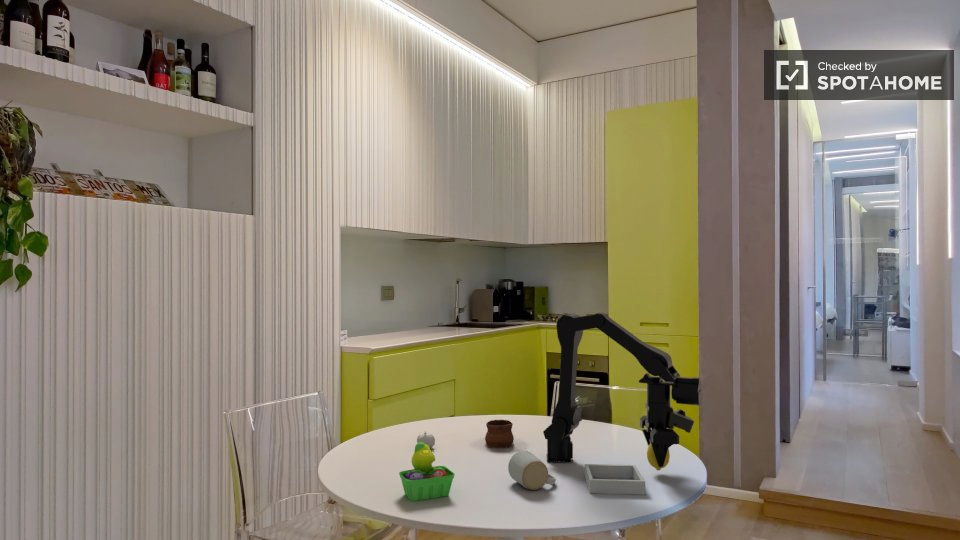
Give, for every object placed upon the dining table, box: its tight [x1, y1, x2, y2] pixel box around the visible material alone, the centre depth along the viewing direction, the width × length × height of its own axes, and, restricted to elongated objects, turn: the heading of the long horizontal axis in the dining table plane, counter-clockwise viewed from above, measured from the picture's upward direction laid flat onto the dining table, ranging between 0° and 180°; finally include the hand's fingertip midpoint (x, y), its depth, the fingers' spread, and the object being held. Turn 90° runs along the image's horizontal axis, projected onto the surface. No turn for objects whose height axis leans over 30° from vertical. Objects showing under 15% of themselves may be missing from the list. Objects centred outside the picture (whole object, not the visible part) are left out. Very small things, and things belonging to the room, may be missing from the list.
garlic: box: [416, 430, 436, 449], centre depth 182 cm, size 6×5×5 cm
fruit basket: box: [398, 442, 455, 502], centre depth 144 cm, size 11×9×11 cm
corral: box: [584, 463, 646, 496], centre depth 150 cm, size 13×13×3 cm
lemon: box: [646, 444, 671, 471], centre depth 158 cm, size 6×6×8 cm
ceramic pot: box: [484, 419, 525, 451], centre depth 187 cm, size 18×18×7 cm
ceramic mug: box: [507, 449, 557, 491], centre depth 150 cm, size 11×8×8 cm
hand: (658, 463), depth 158 cm, fingers closed on lemon, 5 cm apart
